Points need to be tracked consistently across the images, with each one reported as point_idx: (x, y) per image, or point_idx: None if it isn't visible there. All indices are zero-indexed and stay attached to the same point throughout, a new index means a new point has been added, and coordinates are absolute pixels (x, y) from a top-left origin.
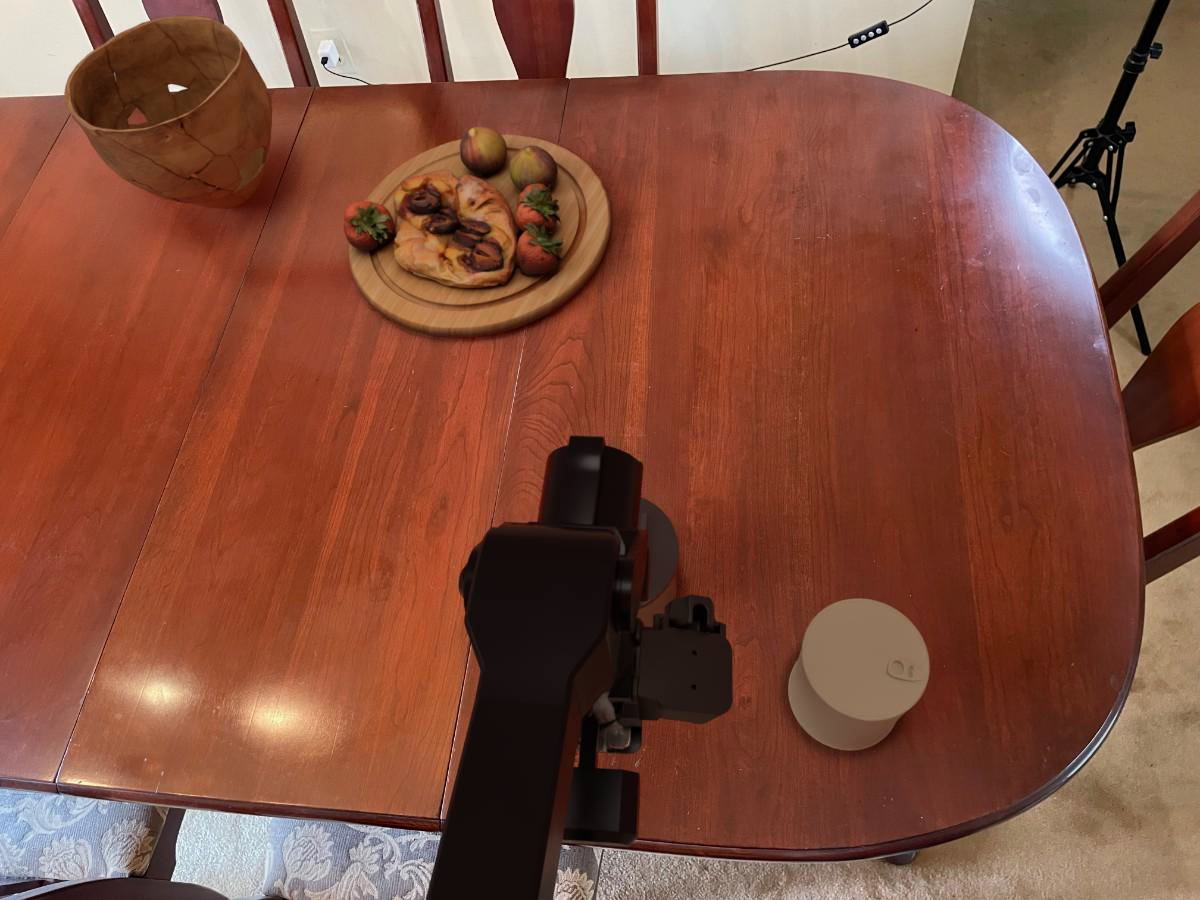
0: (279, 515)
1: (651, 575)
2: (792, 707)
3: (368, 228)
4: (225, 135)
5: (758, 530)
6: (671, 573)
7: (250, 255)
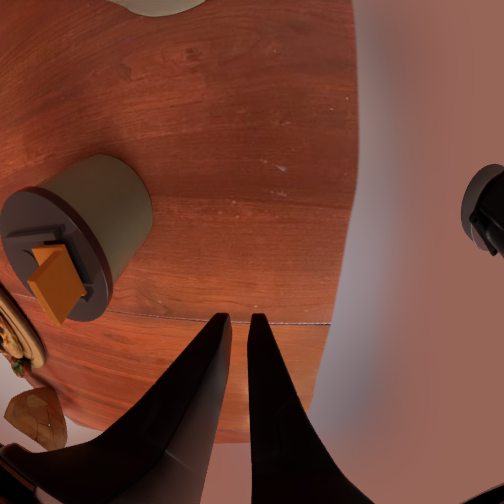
0: None
1: (46, 220)
2: (192, 5)
3: (20, 368)
4: (29, 421)
5: (35, 96)
6: (35, 196)
7: (64, 389)
